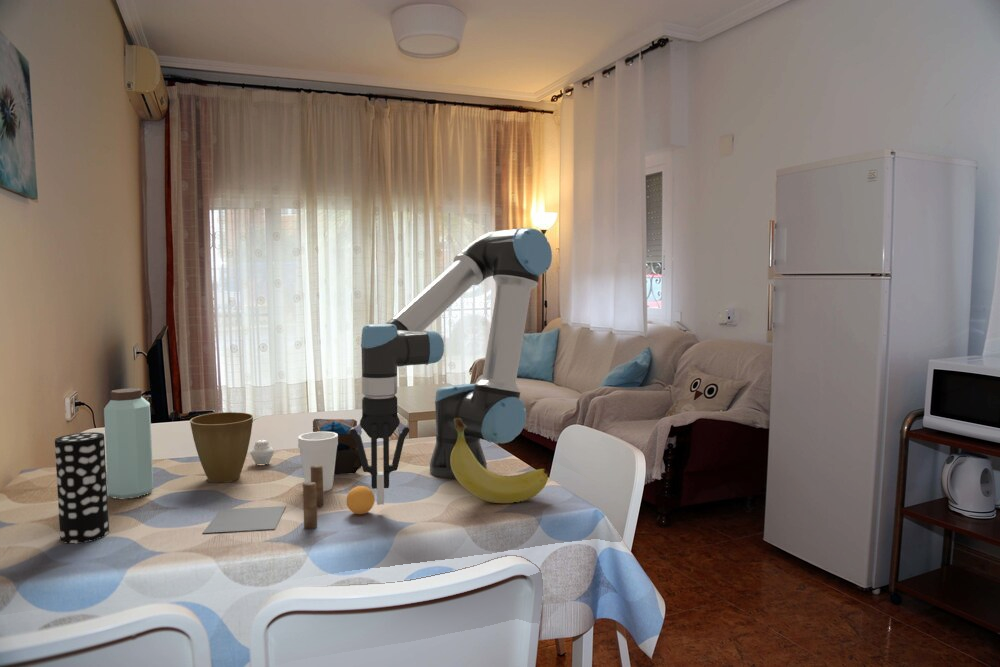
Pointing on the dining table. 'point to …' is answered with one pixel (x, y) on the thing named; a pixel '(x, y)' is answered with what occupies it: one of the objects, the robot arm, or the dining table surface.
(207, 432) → the plant pot
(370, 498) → the ball
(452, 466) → the banana
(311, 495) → the post
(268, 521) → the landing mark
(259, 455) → the white lidded jar
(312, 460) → the foam cup
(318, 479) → the post
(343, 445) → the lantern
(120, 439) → the water bottle
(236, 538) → the dining table surface
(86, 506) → the spotted tube
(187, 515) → the dining table surface
